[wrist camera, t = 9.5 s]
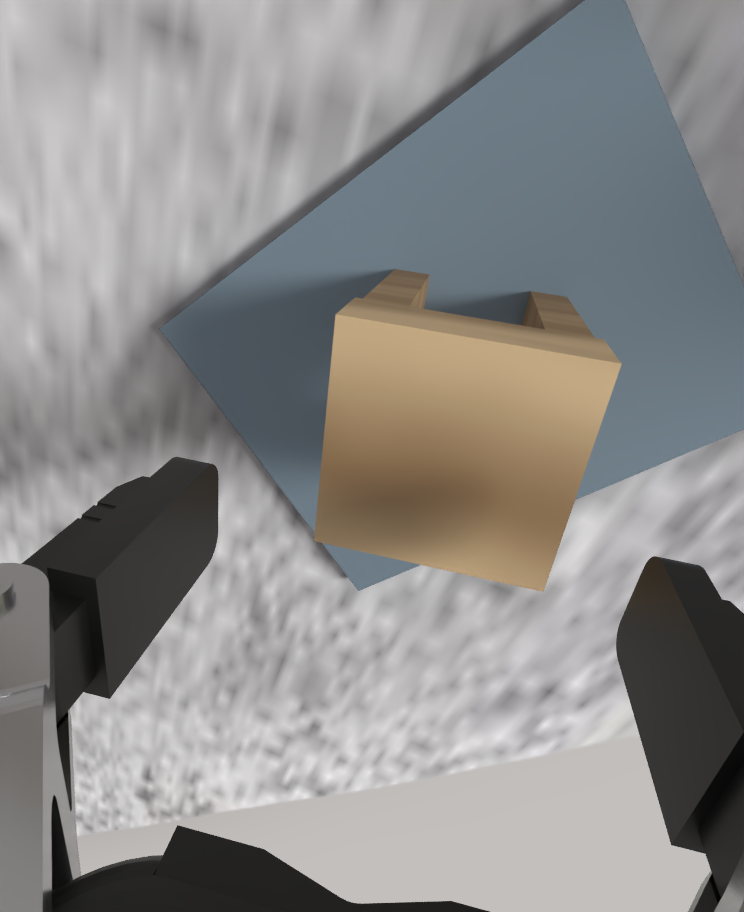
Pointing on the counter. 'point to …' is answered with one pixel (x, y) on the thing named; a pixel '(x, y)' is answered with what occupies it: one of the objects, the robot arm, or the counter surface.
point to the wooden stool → (459, 431)
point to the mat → (501, 262)
